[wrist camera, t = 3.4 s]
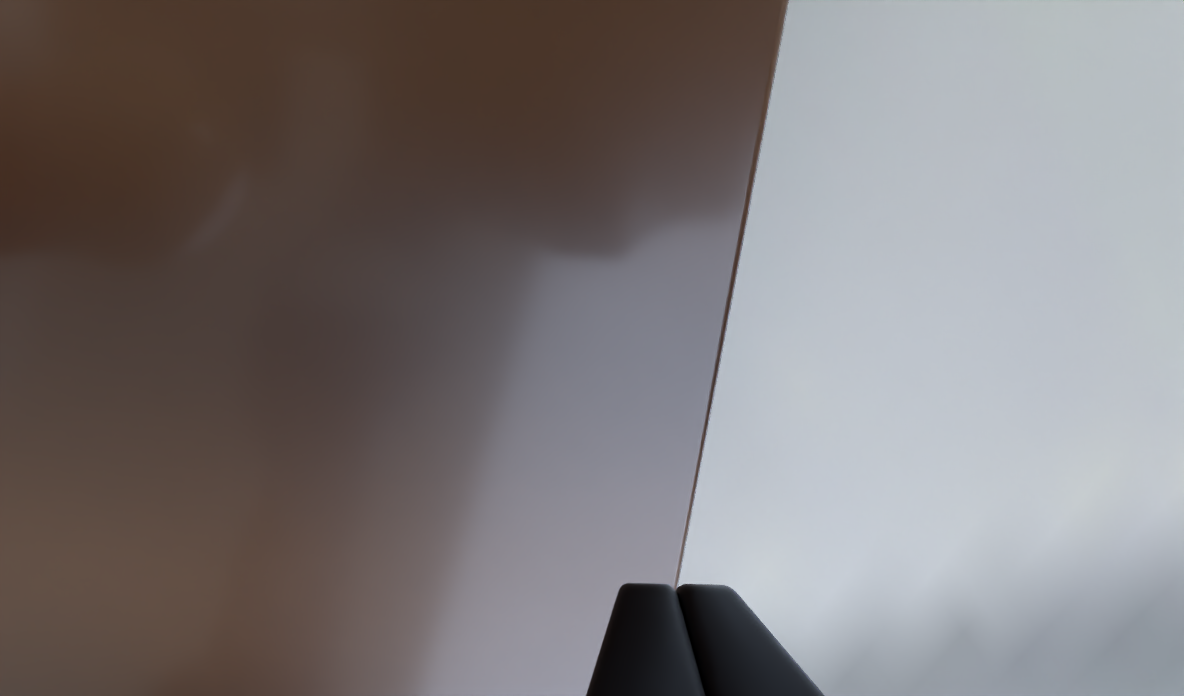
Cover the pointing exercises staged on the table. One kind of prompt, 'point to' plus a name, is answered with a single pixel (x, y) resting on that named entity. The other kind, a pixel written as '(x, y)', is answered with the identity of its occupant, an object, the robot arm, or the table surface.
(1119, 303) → the table surface
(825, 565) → the table surface
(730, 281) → the riser
